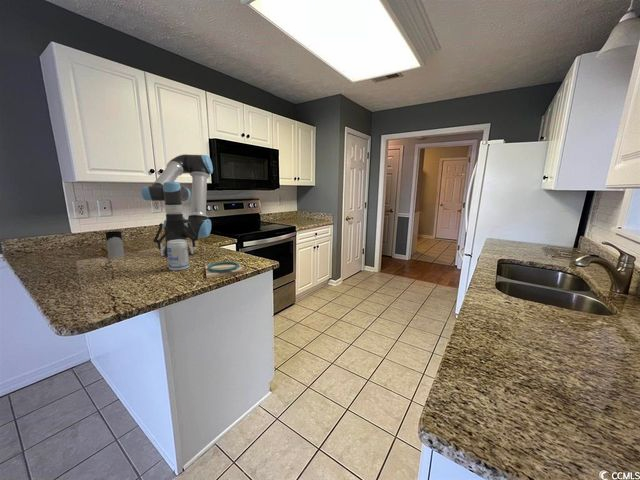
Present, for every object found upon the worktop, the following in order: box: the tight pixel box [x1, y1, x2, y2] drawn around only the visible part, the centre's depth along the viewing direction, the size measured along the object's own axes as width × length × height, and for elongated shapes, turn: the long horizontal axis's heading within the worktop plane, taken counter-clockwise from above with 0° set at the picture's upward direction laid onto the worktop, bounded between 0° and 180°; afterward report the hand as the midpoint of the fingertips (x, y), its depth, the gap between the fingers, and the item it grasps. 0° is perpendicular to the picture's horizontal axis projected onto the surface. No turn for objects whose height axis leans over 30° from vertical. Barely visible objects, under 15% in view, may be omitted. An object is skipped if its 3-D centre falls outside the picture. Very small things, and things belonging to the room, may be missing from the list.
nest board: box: [204, 261, 245, 279], centre depth 135 cm, size 18×17×3 cm
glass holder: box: [104, 230, 126, 259], centre depth 161 cm, size 9×14×15 cm, turn 41°
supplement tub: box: [167, 239, 190, 272], centre depth 137 cm, size 10×10×15 cm
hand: (177, 254), depth 136 cm, fingers open, 13 cm apart
